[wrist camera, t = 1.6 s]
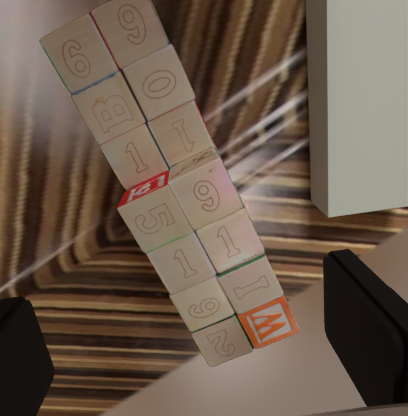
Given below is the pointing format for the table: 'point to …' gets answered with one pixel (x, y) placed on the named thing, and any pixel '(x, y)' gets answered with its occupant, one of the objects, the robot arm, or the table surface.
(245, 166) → the table surface
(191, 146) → the stack of blocks
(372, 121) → the base block
